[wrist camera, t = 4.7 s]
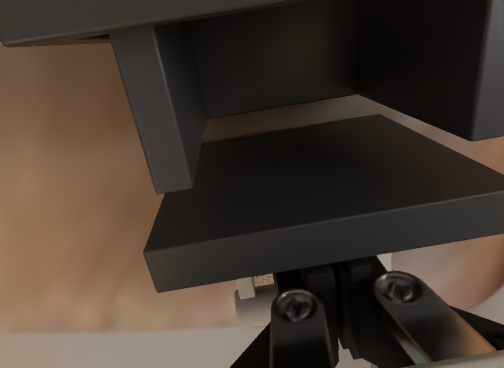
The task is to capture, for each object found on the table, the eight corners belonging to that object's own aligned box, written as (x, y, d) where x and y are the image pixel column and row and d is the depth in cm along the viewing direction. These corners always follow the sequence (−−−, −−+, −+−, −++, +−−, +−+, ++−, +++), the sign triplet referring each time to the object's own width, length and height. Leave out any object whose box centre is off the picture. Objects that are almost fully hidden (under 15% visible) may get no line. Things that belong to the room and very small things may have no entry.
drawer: (378, 231, 17) (488, 369, 10) (209, 260, 17) (200, 420, 10) (384, -262, 10) (801, -1031, 3) (92, -218, 10) (-258, -899, 3)
